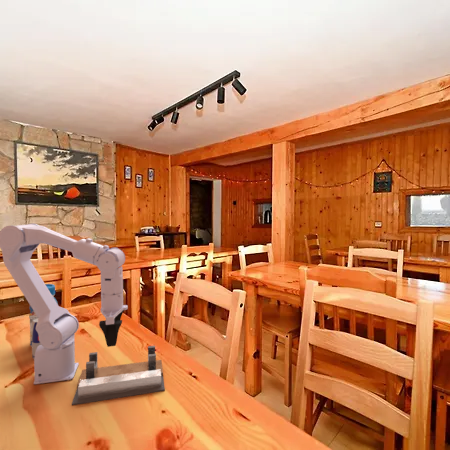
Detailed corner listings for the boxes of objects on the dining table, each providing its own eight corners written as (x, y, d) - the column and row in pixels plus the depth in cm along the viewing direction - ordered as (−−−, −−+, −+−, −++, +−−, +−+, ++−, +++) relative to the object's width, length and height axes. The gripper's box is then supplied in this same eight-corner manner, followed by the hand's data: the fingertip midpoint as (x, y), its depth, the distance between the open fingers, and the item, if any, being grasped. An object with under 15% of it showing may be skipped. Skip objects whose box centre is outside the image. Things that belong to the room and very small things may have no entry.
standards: (77, 389, 74) (77, 366, 74) (82, 373, 81) (82, 352, 81) (163, 376, 81) (163, 355, 80) (161, 363, 87) (161, 343, 87)
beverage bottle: (64, 338, 102) (63, 283, 100) (47, 350, 93) (46, 290, 92) (42, 336, 103) (41, 282, 101) (23, 348, 94) (22, 289, 93)
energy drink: (42, 361, 87) (41, 323, 86) (27, 359, 88) (27, 321, 87) (56, 352, 92) (55, 316, 91) (42, 350, 93) (41, 314, 92)
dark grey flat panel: (71, 405, 68) (71, 403, 68) (77, 389, 74) (77, 388, 74) (164, 390, 75) (164, 389, 75) (163, 377, 80) (163, 375, 80)
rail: (78, 398, 70) (78, 387, 70) (80, 391, 73) (80, 380, 73) (161, 386, 76) (161, 375, 75) (160, 379, 79) (160, 369, 78)
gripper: (125, 299, 74) (126, 349, 74) (128, 284, 87) (129, 327, 88) (96, 301, 72) (97, 353, 72) (103, 285, 85) (104, 329, 86)
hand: (113, 339), depth 80 cm, fingers open, 7 cm apart
